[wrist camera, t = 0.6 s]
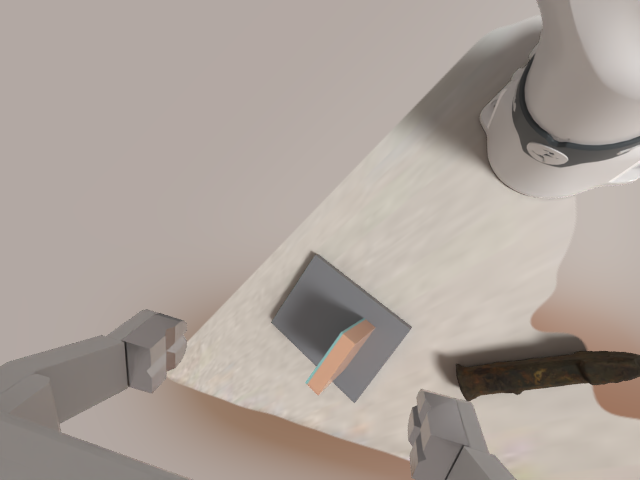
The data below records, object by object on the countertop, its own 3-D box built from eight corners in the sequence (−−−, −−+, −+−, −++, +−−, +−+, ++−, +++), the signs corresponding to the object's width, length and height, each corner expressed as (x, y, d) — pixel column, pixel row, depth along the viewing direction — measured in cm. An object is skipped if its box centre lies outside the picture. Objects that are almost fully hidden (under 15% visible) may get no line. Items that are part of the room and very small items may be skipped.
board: (318, 254, 50) (315, 254, 48) (411, 327, 43) (410, 329, 42) (275, 320, 52) (271, 322, 51) (357, 399, 45) (354, 403, 44)
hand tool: (462, 392, 40) (463, 407, 36) (453, 361, 41) (454, 373, 37) (645, 379, 33) (673, 396, 29) (631, 342, 34) (657, 354, 30)
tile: (364, 317, 44) (341, 332, 35) (375, 327, 44) (355, 344, 35) (334, 358, 46) (305, 382, 37) (345, 368, 45) (317, 395, 36)
